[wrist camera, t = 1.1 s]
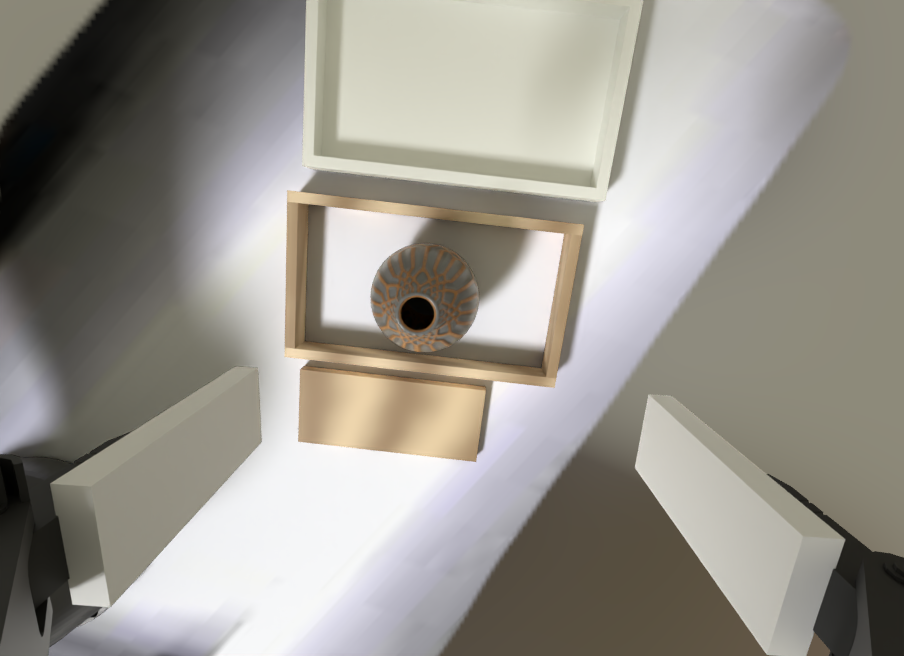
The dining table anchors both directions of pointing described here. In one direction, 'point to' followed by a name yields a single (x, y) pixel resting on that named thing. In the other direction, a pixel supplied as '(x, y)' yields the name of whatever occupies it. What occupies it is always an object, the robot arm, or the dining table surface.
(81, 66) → the dining table surface
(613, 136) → the off-white tray
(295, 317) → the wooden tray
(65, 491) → the robot arm
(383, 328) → the vase
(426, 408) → the lid
